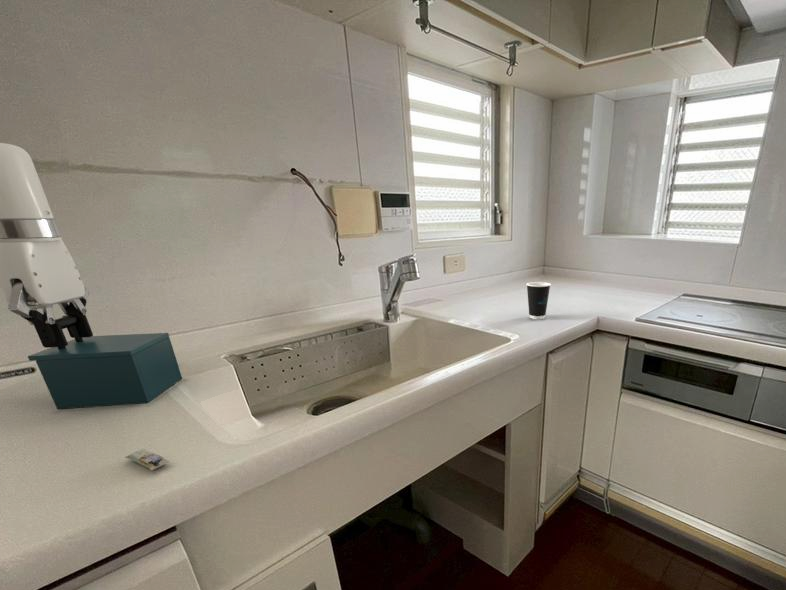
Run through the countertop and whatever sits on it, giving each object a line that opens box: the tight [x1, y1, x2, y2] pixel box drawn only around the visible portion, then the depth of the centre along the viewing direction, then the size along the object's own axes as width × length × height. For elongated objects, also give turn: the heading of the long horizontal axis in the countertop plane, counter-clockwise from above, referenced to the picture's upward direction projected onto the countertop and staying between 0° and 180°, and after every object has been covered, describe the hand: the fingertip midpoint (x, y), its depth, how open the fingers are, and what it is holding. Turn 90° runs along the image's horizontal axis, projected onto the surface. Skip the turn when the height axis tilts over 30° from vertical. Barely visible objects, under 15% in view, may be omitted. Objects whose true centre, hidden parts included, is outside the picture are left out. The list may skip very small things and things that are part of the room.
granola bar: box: [124, 448, 171, 471], centre depth 53 cm, size 7×2×1 cm, turn 64°
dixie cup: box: [525, 281, 552, 320], centre depth 130 cm, size 8×8×11 cm
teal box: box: [35, 336, 183, 410], centre depth 73 cm, size 14×12×9 cm
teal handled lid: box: [27, 315, 170, 362], centre depth 71 cm, size 14×12×6 cm
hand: (69, 340), depth 70 cm, fingers closed on teal handled lid, 5 cm apart
